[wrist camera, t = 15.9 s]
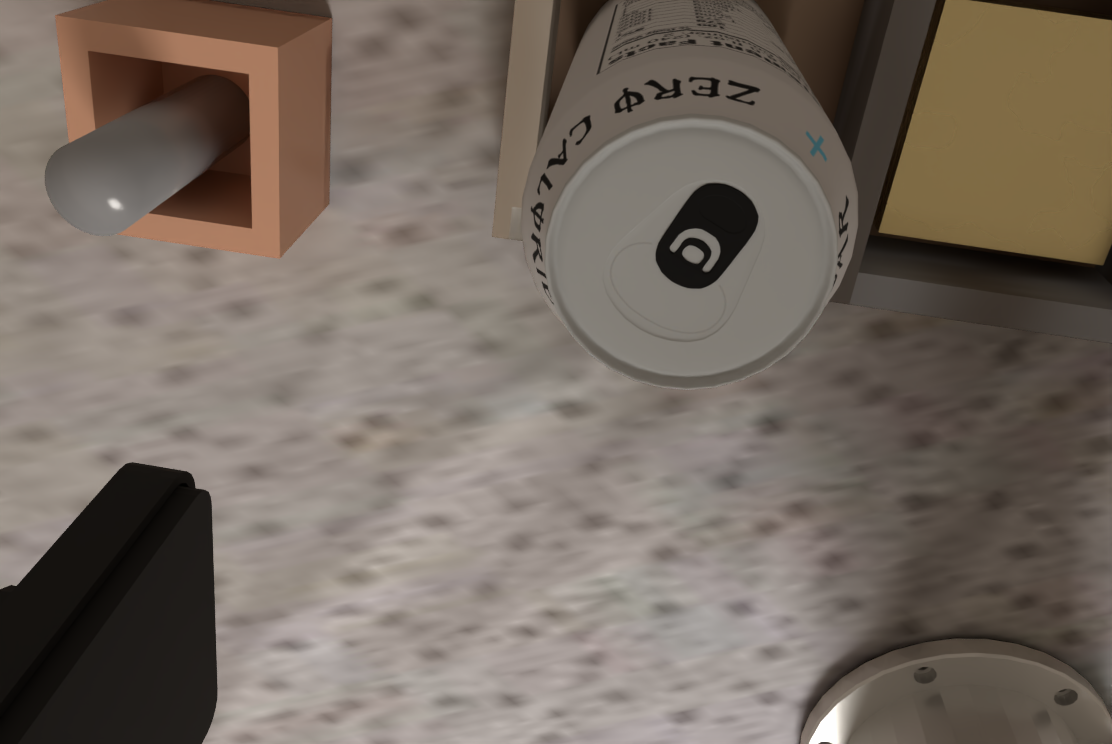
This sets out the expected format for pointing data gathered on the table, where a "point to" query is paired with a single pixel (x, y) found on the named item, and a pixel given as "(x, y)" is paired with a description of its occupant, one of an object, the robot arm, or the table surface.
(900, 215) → the khaki flat square slab
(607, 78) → the energy drink can
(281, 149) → the square terracotta planter
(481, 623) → the table surface
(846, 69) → the wooden tray
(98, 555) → the robot arm
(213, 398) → the table surface
